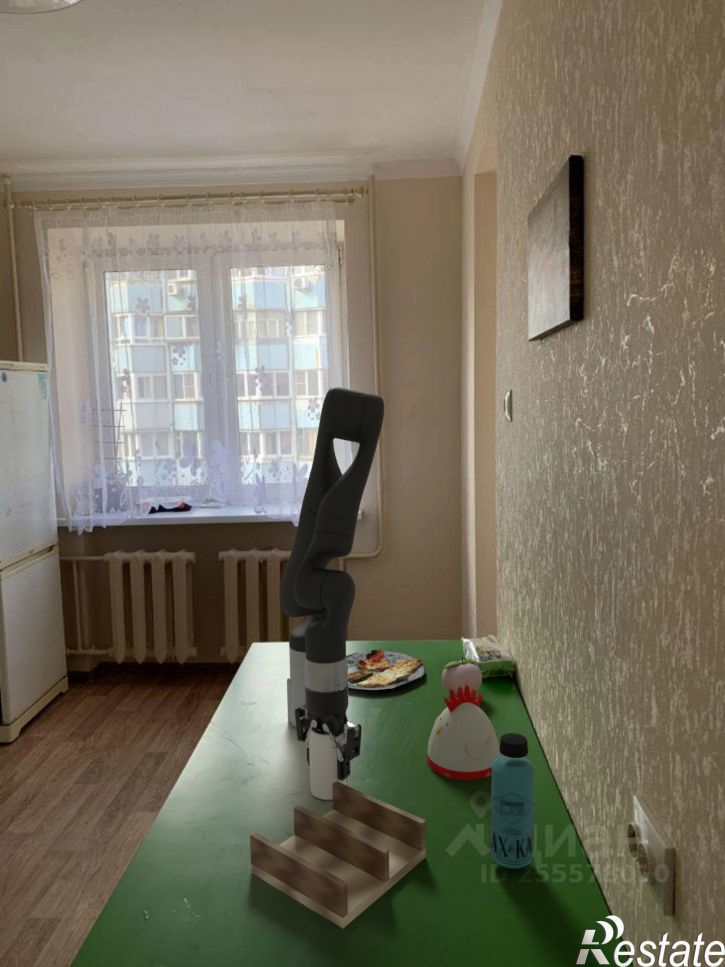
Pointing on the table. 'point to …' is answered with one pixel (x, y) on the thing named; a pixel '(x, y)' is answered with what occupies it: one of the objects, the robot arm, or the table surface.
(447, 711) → the kitchen timer
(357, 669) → the food plate
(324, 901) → the rack
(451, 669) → the decorative fruit
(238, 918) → the table surface
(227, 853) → the table surface
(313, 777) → the can
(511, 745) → the beverage bottle
